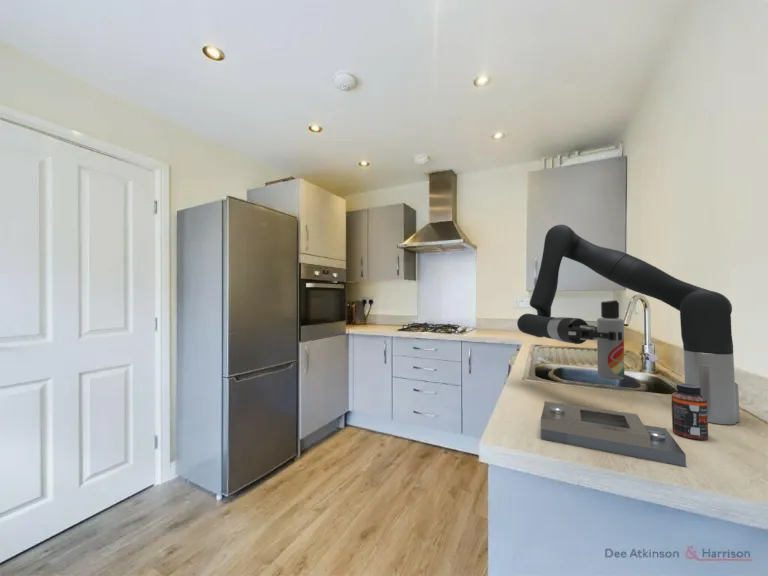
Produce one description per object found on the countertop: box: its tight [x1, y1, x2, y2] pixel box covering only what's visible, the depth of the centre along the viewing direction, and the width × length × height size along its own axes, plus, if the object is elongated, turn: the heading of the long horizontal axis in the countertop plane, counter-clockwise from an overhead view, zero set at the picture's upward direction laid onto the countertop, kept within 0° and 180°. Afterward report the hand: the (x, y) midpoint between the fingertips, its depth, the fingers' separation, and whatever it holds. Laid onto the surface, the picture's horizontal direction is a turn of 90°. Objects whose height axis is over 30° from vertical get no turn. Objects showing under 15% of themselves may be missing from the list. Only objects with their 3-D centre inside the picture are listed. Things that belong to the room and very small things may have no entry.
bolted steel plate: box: [540, 401, 687, 468], centre depth 71 cm, size 24×14×5 cm, turn 60°
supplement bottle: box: [671, 382, 709, 441], centre depth 73 cm, size 6×6×11 cm
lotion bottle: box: [596, 299, 625, 381], centre depth 84 cm, size 6×6×20 cm
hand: (617, 336), depth 81 cm, fingers closed on lotion bottle, 1 cm apart
